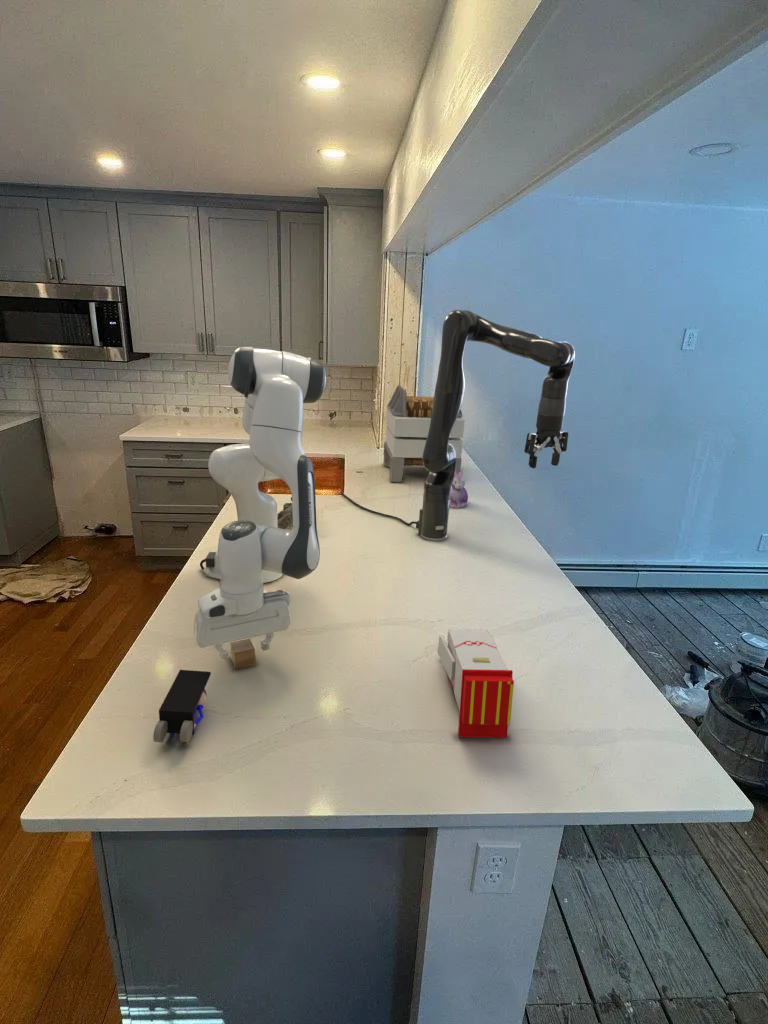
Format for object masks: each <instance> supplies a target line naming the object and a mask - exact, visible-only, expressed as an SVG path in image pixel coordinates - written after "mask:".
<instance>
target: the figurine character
mask: <svg viewBox="0 0 768 1024" xmlns="http://www.w3.org/2000/svg"><path fill="white" fill-rule="evenodd" d="M211 675H212V673H211V671H208V670H207V671H204V670H190V669H189V670H188V669H179V670H178V673H177V675H176V676H175V679H174V681H173V682H172V684H171V686H170V687H169V690H168V692H167V694H166V696H165V697H164V700H163V701H162V703H161V705H160V707H159V709H158V717H159V718H158V719H159V720H158V721H157V722H156V724H155V727H154V729H153V734H152V735H153V737H152V738H153V740H152V741H153V742H155V743H163V742H164V741H165V739H166V737H167V734H169V735H168V737H167V740H166V743H165V744H166V746H167V747H168V746H170V745H171V744H172V742H173V739H174V737H175V735H179V741H180V742H181V744H182V745H181V746H182V747H185V746H186V745H187V744H188V743H189V742H190V740H191V738H192V736H194V735H195V733H196V732H195V728H196V727H197V725H198V724H199V723H200V722H201V721H202V720H203V719H204V717H205V716H204V711H203V710H204V707H205V706H204V704H205V703H206V701H207V698H208V695H207V690H206V686H207V684H208V682H209V679H210V677H211ZM197 711H198V715H199V716H198V717H197V718H196V719H195V716H196V713H197Z"/></svg>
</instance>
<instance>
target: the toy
mask: <svg viewBox="0 0 768 1024" xmlns="http://www.w3.org/2000/svg"><path fill="white" fill-rule="evenodd" d="M446 640H447V643H446V641H445V639H444V636H443V635H442V634H439V637H438V646H437V656H438V657H439V659H440V661H441V663H442V666H443V668H444V670H445V672H446V674H447V677H448V679H449V681H450V684H451V687H452V690H453V693H454V697H455V701H456V705H457V708H458V711H459V714H458V715H459V716H458V730H457V731H458V732H457V737H458V738H508V731H509V726H510V725H511V717H512V707H513V697H514V696H513V695H514V684H515V680H514V679H513V673H514V671H513V670H512V669H508V667H507V665H506V662H505V661H504V659H503V658H502V655H501V653H500V651H499V649H498V647H497V643H496V639H495V637H494V635H493V634H491V632H490V631H489V629H467V628H466V629H465V628H463V629H461V628H460V629H459V628H448V630H447V639H446Z"/></svg>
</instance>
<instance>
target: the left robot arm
mask: <svg viewBox="0 0 768 1024" xmlns="http://www.w3.org/2000/svg"><path fill="white" fill-rule="evenodd" d="M227 375H228V380H229V382H230V386H231V387H232V388H233V389H234V391H236V392H238V393H239V394H241V395H243V396H244V398H245V400H244V404H243V411H242V417H241V423H242V427H243V429H244V431H245V433H246V434H248V435H249V442H243V443H235V444H229V445H225V446H222V447H219V448H217V449H214V450H213V451H212V452H211V454H210V455H209V459H208V464H207V466H208V472H209V475H210V476H211V478H212V479H213V481H214V482H215V483H216V484H218V485H220V486H221V487H223V488H224V489H225V490H227V491H228V493H229V494H230V496H231V497H232V498H233V500H234V504H235V508H236V509H235V510H236V518H237V520H234V521H231V522H229V523H227V524H226V525H224V526H223V527H222V528H221V530H220V532H219V537H218V543H217V550H216V551H209V552H208V554H206V557H205V558H204V559H202V560H201V561H200V562H199V567H200V569H201V571H203V570H205V576H206V577H209V578H214V579H217V580H220V581H219V587H217V588H215V589H214V590H211V591H209V592H207V593H204V594H203V595H201V596H199V597H198V598H197V605H198V610H197V612H196V613H195V616H194V624H193V625H194V626H193V633H194V634H193V636H194V641H195V644H196V645H197V647H199V648H200V649H205V648H209V647H213V646H214V649H215V650H216V651H217V652H218V653H219V658H220V660H221V661H226V660H229V651H228V649H227V648H223V644H229V643H231V642H235V641H240V640H245V639H251V638H254V637H255V638H256V637H259V636H263V635H265V638H264V639H262V640H260V648H261V651H262V652H264V651H269V650H270V644H271V643H272V641H273V639H274V637H275V633H278V632H281V631H282V632H283V631H286V630H288V629H289V628H290V627H291V624H292V621H291V614H290V609H289V606H290V604H291V595H290V593H289V592H288V591H285V590H283V589H278V590H276V591H266V592H264V584H265V583H271V582H274V581H276V580H279V579H280V578H281V577H282V576H283V575H284V576H286V577H289V578H293V579H297V580H301V579H303V578H305V577H308V575H310V574H312V573H313V572H314V571H315V570H316V569H317V567H318V565H319V563H320V557H321V548H320V541H319V536H318V526H317V525H318V524H317V501H316V500H317V499H316V480H315V479H316V478H315V470H314V464H313V462H312V460H311V459H310V458H309V457H308V456H307V455H306V453H305V450H304V445H303V431H304V429H303V428H304V414H305V413H304V412H305V411H304V404H314V403H316V402H317V401H319V400H320V399H322V396H323V394H324V391H325V389H326V385H327V374H326V368H325V366H324V364H323V362H322V361H320V360H318V359H315V358H313V357H311V356H309V357H307V356H303V355H300V354H296V353H294V352H289V351H285V350H281V351H280V350H274V349H268V348H254V347H253V346H239V347H237V349H235V350H234V351H233V354H232V355H231V357H230V359H229V362H228V366H227ZM275 480H282V481H283V482H284V483H285V484H286V485H287V487H288V488H289V490H290V493H291V497H292V501H291V503H292V511H293V524H292V529H287V528H286V529H281V528H279V526H278V518H277V515H278V503H277V502H276V499H275V498H274V497H273V496H272V495H270V494H269V493H267V492H263V491H260V489H259V483H262V482H267V481H268V482H269V481H275ZM204 563H205V567H204V565H203V564H204ZM205 568H206V569H205Z"/></svg>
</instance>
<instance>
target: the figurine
mask: <svg viewBox="0 0 768 1024" xmlns="http://www.w3.org/2000/svg"><path fill="white" fill-rule="evenodd" d="M463 474H464V468H461V469H460V471H459V473H457V472H456V470H455V474H454V480H453V483H452V485H451V493H450V505H449V508H454V509H455V508H456V509H459V508H464V507H466V506H467V504H468V500H469V495H468V491H467V489H466V487H465V484H466V483H465V479H464V477H463V476H464V475H463Z"/></svg>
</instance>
